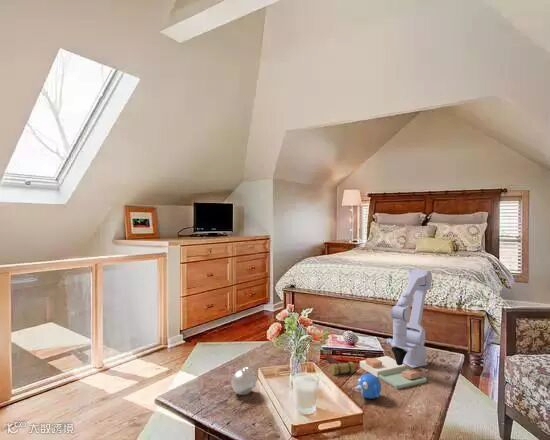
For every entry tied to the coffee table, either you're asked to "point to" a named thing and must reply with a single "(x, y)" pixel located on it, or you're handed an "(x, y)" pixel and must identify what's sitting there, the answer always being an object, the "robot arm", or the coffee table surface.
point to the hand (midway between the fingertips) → (399, 364)
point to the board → (387, 366)
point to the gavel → (340, 366)
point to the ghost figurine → (243, 381)
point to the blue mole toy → (368, 386)
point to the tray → (400, 379)
